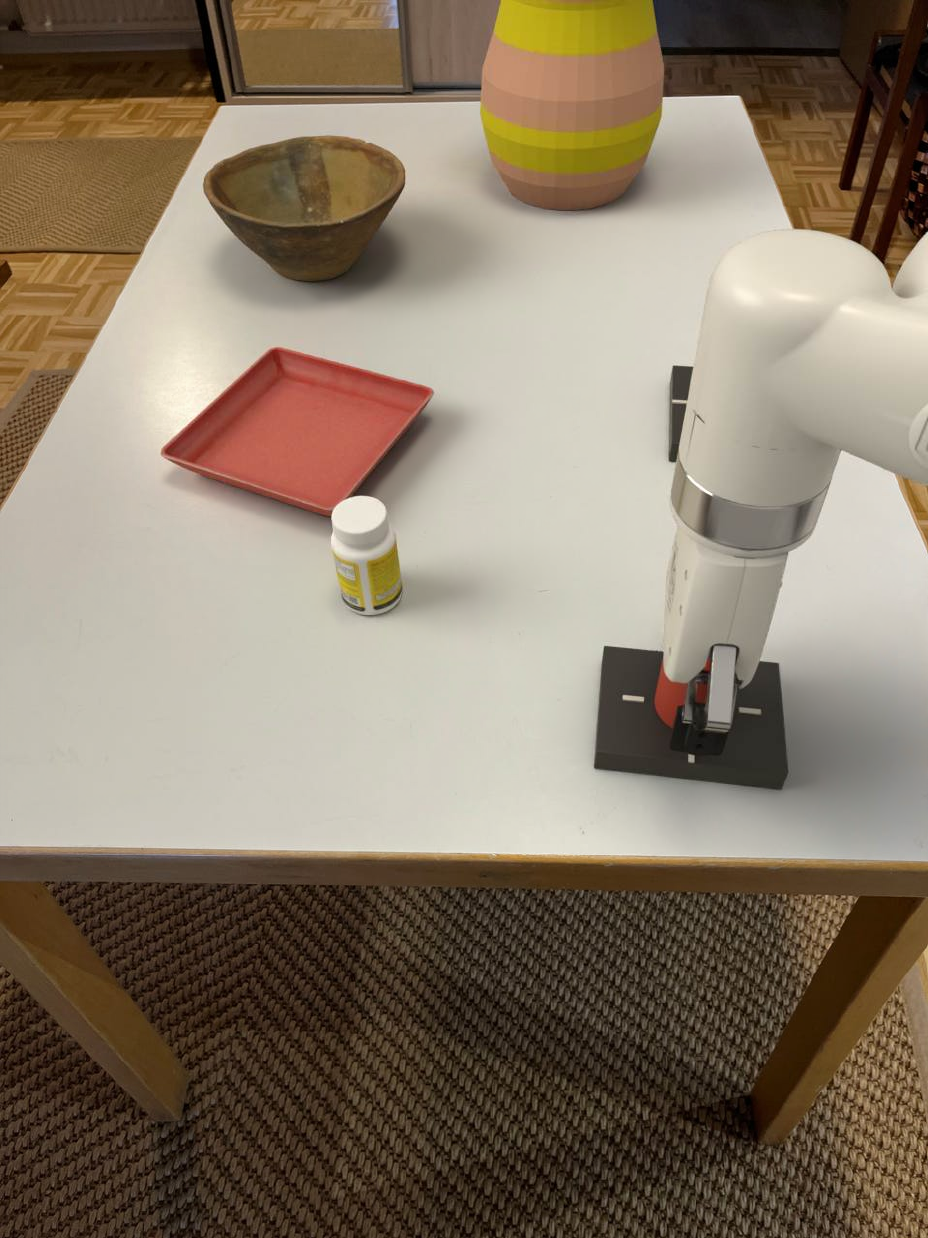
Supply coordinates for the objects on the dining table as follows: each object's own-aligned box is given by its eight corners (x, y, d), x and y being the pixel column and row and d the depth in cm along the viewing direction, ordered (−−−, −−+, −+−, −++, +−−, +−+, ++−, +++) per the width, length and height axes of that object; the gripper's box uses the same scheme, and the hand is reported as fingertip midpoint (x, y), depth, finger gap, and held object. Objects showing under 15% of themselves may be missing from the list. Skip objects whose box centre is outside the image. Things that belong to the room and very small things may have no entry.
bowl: (408, 210, 115) (401, 125, 107) (415, 306, 100) (408, 215, 92) (232, 221, 114) (213, 137, 107) (212, 319, 99) (189, 229, 92)
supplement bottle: (404, 572, 73) (395, 491, 67) (400, 617, 70) (390, 536, 64) (344, 572, 73) (329, 492, 67) (338, 617, 70) (321, 536, 64)
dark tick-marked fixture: (772, 680, 65) (779, 661, 63) (781, 790, 59) (789, 772, 58) (601, 662, 67) (604, 643, 65) (593, 768, 61) (596, 750, 59)
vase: (468, 156, 125) (461, -124, 103) (626, 141, 127) (653, -138, 104) (498, 231, 111) (497, -76, 88) (675, 212, 112) (719, -93, 90)
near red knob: (655, 672, 63) (667, 616, 59) (727, 681, 63) (744, 625, 58) (652, 730, 60) (664, 675, 56) (728, 739, 59) (746, 684, 55)
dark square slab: (669, 382, 89) (672, 363, 87) (765, 388, 88) (770, 369, 86) (668, 461, 81) (671, 441, 80) (773, 469, 80) (779, 449, 78)
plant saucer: (339, 539, 76) (333, 509, 73) (165, 481, 82) (154, 451, 79) (439, 417, 86) (437, 387, 84) (279, 373, 92) (272, 344, 90)
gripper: (675, 383, 53) (641, 589, 66) (670, 603, 42) (630, 800, 55) (809, 392, 52) (748, 600, 65) (841, 620, 41) (759, 816, 54)
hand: (694, 690), depth 60 cm, fingers open, 8 cm apart
